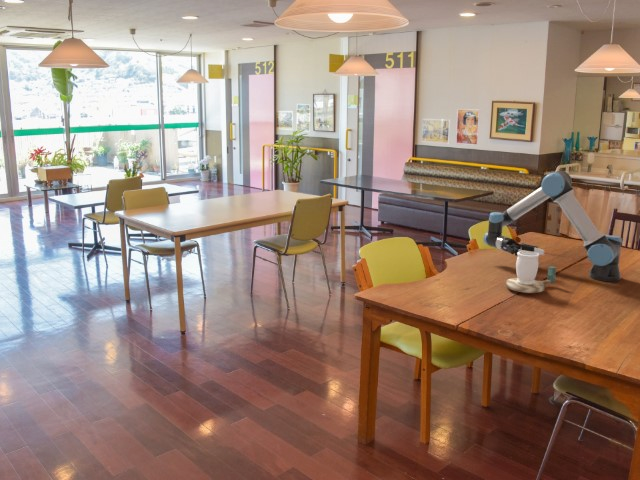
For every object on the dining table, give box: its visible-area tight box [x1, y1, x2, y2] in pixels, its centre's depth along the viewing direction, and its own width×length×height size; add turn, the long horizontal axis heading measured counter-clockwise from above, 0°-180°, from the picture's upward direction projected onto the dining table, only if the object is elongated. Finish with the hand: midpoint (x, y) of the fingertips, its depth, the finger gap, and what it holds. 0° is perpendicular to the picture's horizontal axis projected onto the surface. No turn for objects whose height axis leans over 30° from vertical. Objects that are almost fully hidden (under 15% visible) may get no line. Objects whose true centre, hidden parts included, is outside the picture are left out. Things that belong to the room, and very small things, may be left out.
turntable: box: [505, 266, 557, 294], centre depth 301 cm, size 27×18×8 cm, turn 115°
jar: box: [515, 250, 540, 285], centre depth 298 cm, size 11×10×15 cm
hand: (535, 253), depth 315 cm, fingers open, 10 cm apart
